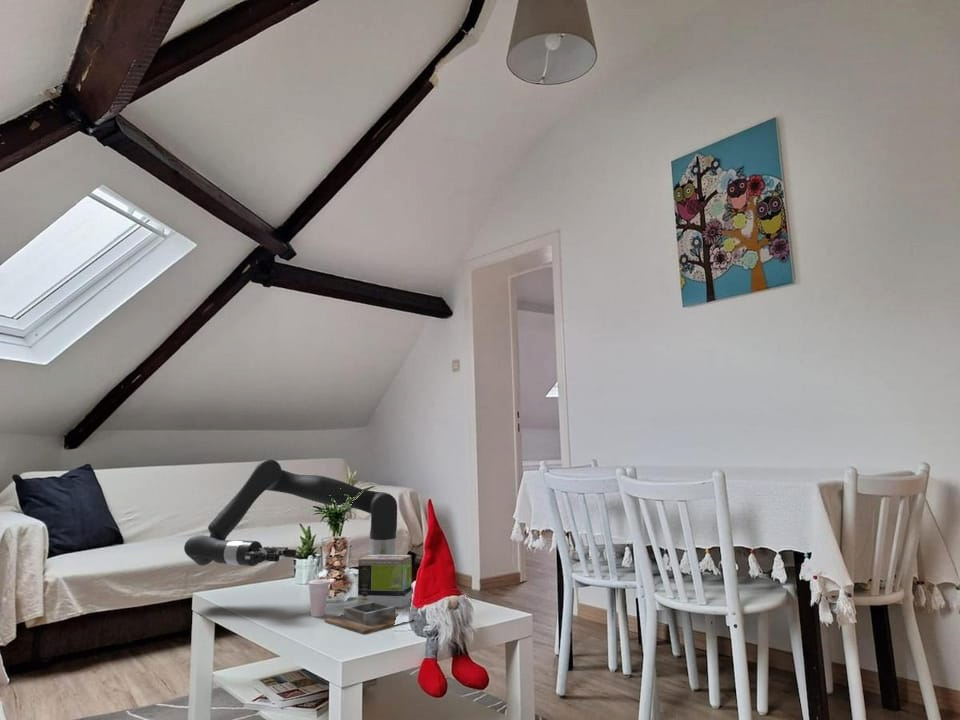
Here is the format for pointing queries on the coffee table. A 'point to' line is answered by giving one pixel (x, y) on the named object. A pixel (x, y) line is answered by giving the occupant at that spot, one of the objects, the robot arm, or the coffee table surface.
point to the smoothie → (318, 595)
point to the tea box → (385, 579)
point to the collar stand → (365, 617)
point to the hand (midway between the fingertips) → (287, 555)
